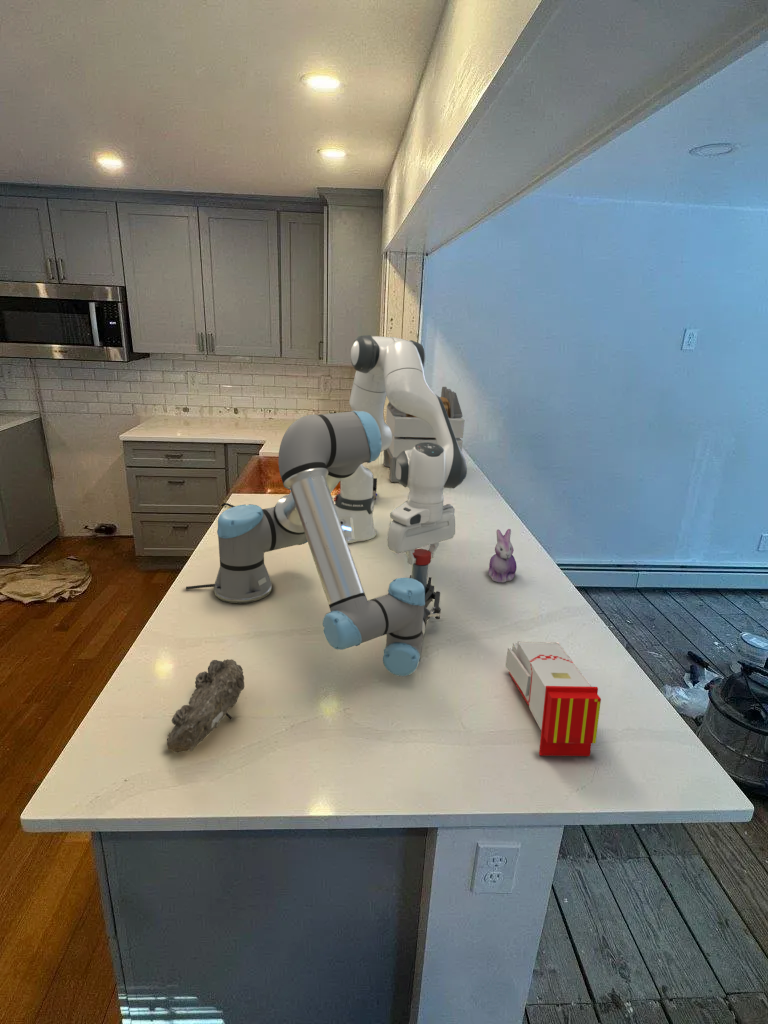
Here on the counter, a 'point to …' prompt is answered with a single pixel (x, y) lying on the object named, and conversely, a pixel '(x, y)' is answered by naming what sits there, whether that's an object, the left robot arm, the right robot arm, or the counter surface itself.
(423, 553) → the lid
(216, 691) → the fossil
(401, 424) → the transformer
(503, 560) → the figurine
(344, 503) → the right robot arm
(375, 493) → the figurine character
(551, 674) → the toy
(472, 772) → the counter surface
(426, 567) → the bottle
